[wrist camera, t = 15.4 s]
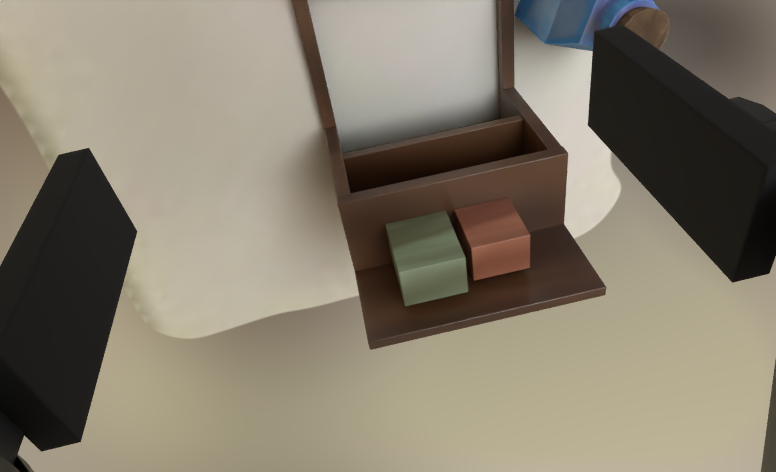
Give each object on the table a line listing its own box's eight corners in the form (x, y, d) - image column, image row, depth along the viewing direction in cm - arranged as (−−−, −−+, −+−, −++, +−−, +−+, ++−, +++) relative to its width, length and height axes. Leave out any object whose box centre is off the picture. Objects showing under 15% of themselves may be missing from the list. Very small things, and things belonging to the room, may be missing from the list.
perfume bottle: (584, 26, 47) (663, 88, 38) (515, 15, 46) (579, 77, 36) (616, -56, 44) (713, -10, 34) (542, -72, 42) (622, -27, 33)
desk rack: (286, -27, 41) (300, 85, 26) (508, -73, 42) (643, 11, 27) (340, 191, 53) (370, 351, 38) (511, 153, 54) (605, 296, 39)
